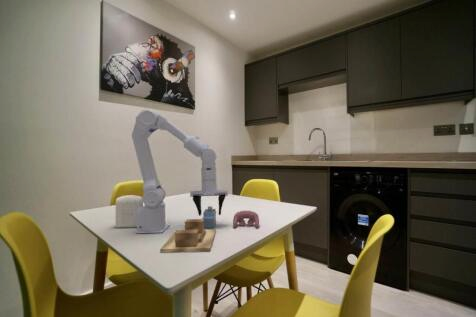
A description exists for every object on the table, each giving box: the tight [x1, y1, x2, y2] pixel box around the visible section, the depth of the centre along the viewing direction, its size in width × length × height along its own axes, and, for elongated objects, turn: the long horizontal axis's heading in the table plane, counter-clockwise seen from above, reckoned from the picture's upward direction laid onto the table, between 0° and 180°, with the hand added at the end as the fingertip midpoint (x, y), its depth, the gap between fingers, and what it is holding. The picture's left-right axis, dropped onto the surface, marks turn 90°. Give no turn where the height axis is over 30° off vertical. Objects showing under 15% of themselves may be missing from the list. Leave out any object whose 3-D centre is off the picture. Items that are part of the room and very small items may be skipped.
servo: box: [201, 206, 217, 229], centre depth 84 cm, size 4×10×7 cm, turn 0°
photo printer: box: [115, 194, 144, 228], centre depth 85 cm, size 10×4×12 cm, turn 94°
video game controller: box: [232, 210, 260, 229], centre depth 82 cm, size 10×5×7 cm, turn 84°
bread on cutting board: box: [159, 218, 217, 254], centre depth 69 cm, size 14×16×5 cm
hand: (209, 214), depth 84 cm, fingers open, 7 cm apart
